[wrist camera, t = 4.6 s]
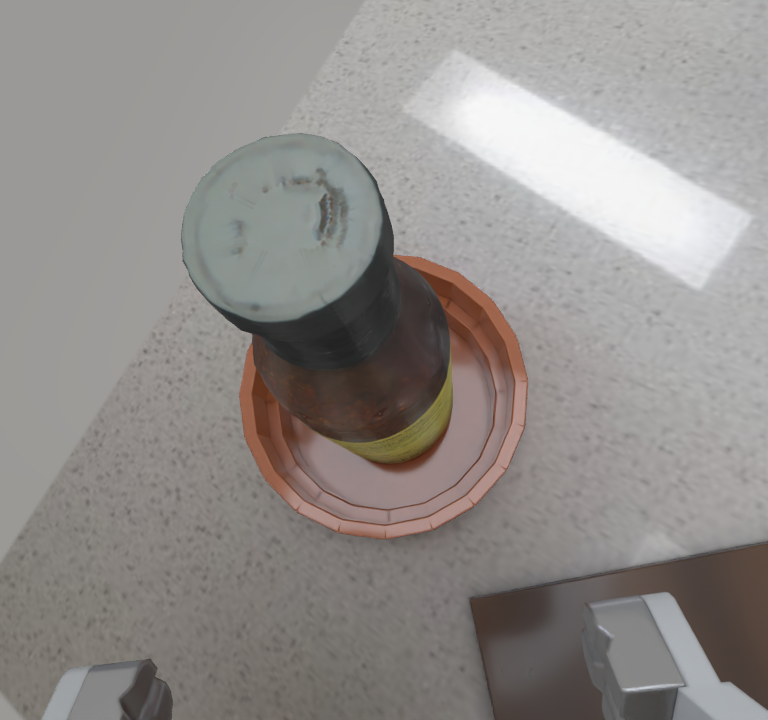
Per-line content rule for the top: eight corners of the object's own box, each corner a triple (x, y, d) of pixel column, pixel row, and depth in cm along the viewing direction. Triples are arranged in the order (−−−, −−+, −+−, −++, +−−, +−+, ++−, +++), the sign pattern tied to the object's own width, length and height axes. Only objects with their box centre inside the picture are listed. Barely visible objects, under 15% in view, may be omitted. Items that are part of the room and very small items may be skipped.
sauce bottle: (472, 382, 30) (541, 162, 10) (414, 489, 29) (370, 465, 9) (365, 325, 31) (248, 36, 12) (305, 426, 30) (69, 289, 11)
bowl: (289, 553, 29) (260, 564, 24) (256, 318, 32) (224, 285, 27) (539, 504, 28) (561, 505, 23) (480, 270, 31) (488, 228, 27)
